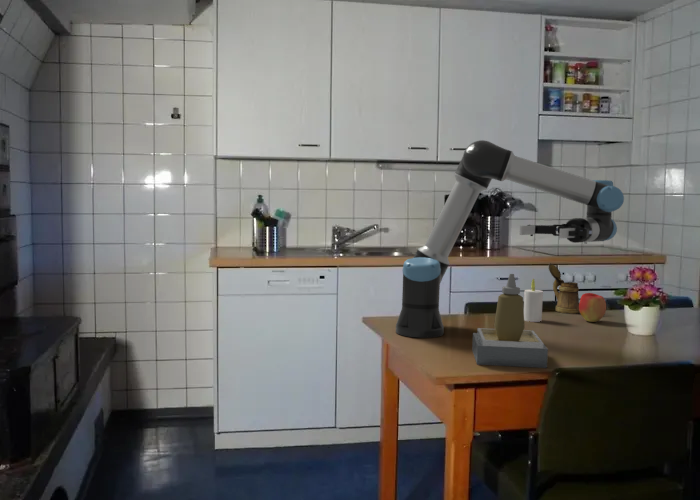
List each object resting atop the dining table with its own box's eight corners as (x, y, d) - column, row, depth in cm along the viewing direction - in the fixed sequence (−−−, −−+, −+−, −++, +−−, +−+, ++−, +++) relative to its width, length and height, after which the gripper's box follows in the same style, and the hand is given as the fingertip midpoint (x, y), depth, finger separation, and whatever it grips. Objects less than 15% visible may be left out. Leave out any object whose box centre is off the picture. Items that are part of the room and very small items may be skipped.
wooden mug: (553, 307, 270) (555, 262, 269) (584, 312, 260) (587, 265, 259) (540, 309, 264) (543, 263, 263) (572, 314, 254) (575, 267, 253)
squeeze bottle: (524, 343, 181) (528, 276, 179) (493, 341, 182) (496, 275, 181) (523, 337, 189) (526, 272, 187) (493, 335, 190) (496, 271, 189)
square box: (476, 364, 179) (477, 340, 178) (472, 350, 195) (473, 327, 194) (546, 367, 177) (548, 343, 177) (536, 353, 193) (537, 330, 193)
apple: (572, 320, 242) (573, 293, 241) (586, 317, 249) (587, 290, 248) (597, 325, 235) (599, 296, 234) (611, 322, 242) (612, 294, 241)
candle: (544, 319, 243) (546, 278, 242) (538, 322, 238) (540, 280, 236) (526, 317, 246) (528, 276, 245) (520, 320, 241) (522, 278, 240)
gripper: (618, 245, 202) (577, 248, 188) (546, 239, 221) (504, 241, 207) (619, 220, 201) (579, 221, 188) (547, 216, 220) (505, 216, 207)
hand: (540, 231), depth 197 cm, fingers open, 13 cm apart
